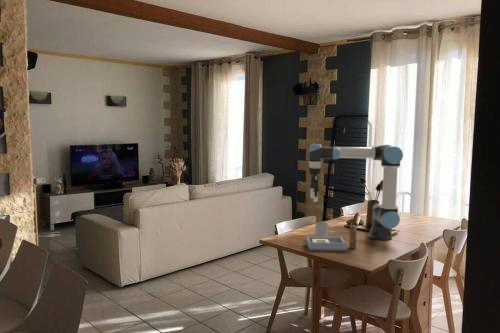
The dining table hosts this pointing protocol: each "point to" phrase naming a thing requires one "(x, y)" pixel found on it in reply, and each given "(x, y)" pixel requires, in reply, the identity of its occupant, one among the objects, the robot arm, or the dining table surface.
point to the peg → (352, 237)
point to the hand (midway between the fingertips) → (313, 199)
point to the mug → (322, 229)
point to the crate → (326, 244)
